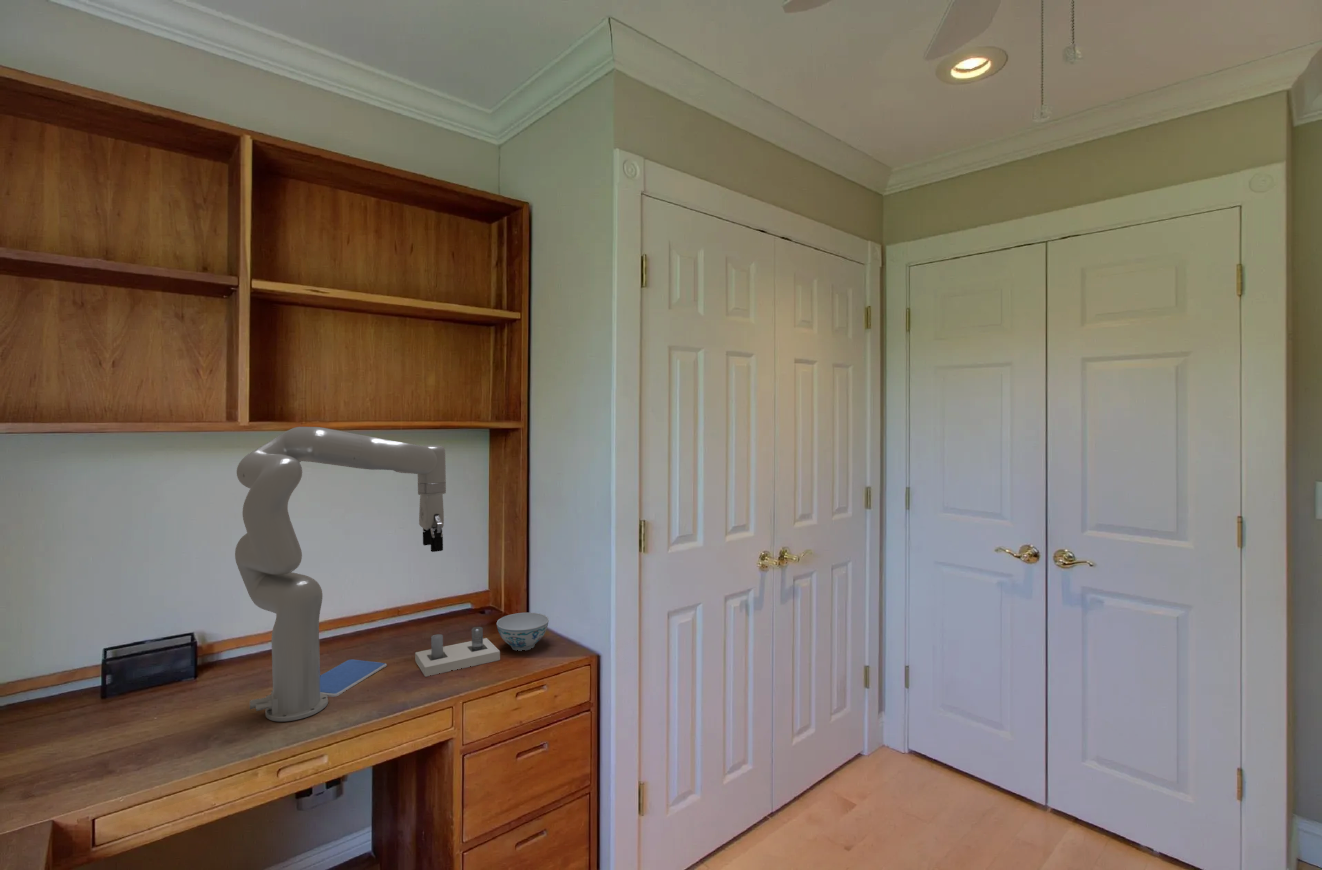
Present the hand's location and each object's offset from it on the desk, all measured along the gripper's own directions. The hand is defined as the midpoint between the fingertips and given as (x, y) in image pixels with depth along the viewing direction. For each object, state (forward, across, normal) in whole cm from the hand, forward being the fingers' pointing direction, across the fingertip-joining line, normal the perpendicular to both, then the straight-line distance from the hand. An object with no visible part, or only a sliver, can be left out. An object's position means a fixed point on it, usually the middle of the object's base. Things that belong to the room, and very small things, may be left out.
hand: (432, 547), depth 178 cm
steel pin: (+30, +10, +10) cm, 33 cm away
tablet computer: (+31, +5, -24) cm, 40 cm away
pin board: (+30, +10, +4) cm, 32 cm away
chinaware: (+31, +10, +23) cm, 39 cm away
